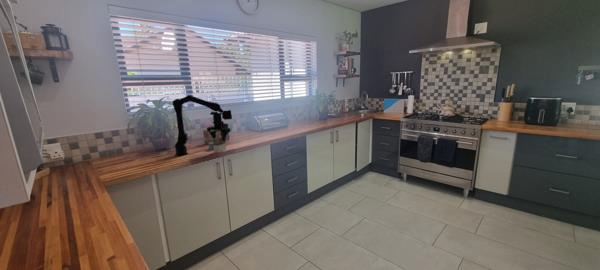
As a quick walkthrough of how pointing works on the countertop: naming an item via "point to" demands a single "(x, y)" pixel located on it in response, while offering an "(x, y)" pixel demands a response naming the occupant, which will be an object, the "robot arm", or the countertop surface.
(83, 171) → the countertop surface
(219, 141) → the walnut brick
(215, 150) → the cream brick
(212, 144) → the slate brick
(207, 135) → the stack of blocks
